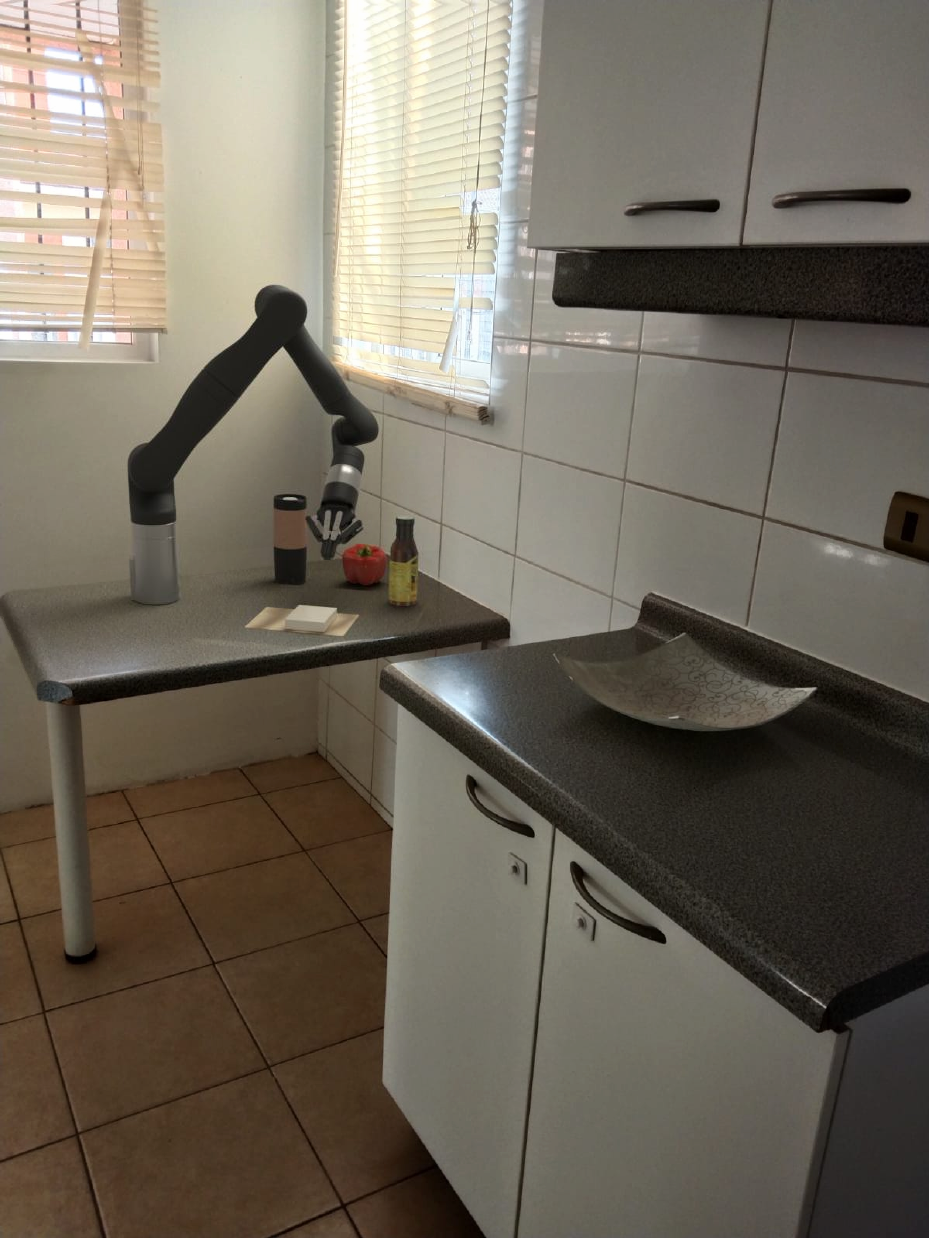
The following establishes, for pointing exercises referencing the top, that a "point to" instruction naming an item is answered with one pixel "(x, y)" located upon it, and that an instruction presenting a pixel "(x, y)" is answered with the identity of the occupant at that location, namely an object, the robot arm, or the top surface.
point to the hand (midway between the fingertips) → (326, 558)
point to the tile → (311, 618)
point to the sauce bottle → (403, 564)
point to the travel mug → (290, 538)
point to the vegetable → (364, 564)
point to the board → (276, 621)
